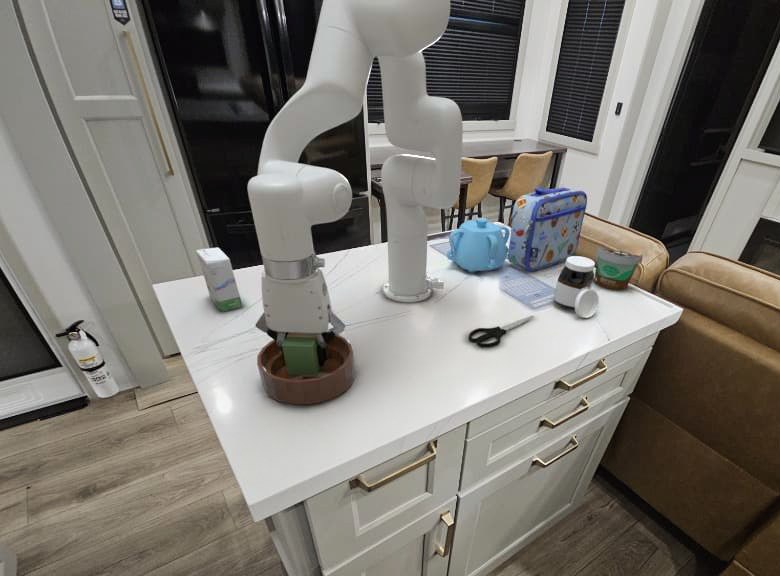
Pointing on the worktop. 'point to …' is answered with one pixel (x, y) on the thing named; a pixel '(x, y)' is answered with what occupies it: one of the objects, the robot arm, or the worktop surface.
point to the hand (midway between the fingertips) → (307, 360)
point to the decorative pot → (478, 245)
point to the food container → (615, 268)
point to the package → (301, 354)
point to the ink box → (219, 278)
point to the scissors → (494, 333)
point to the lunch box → (546, 227)
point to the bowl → (307, 387)
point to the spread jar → (577, 287)
